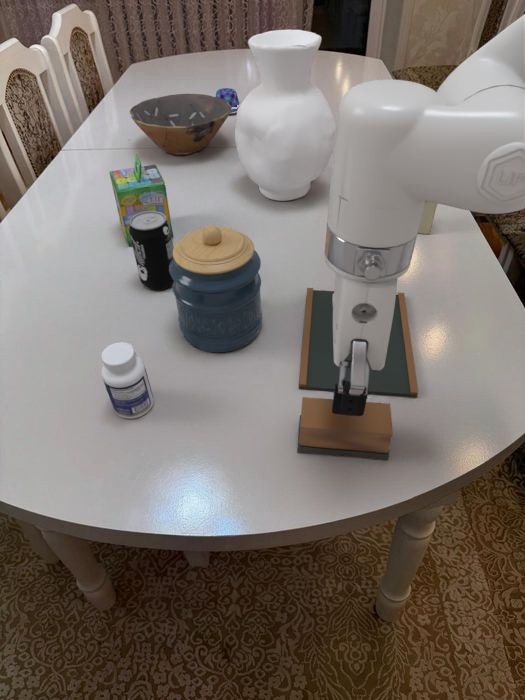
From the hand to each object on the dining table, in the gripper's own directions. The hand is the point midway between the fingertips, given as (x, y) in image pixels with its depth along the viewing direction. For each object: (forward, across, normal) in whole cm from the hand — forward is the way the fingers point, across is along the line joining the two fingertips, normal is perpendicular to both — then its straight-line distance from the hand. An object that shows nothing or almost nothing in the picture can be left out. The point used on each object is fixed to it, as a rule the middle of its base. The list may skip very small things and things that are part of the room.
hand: (347, 378), depth 55 cm
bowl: (+12, +89, +41) cm, 98 cm away
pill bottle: (+12, +3, +27) cm, 30 cm away
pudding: (+12, +119, +35) cm, 124 cm away
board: (+11, +19, -3) cm, 22 cm away
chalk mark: (+11, +27, -1) cm, 29 cm away
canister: (+12, +20, +18) cm, 29 cm away
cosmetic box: (+11, +53, -14) cm, 56 cm away
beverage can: (+12, +31, +31) cm, 46 cm away
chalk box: (+12, +47, +38) cm, 62 cm away
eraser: (+11, 0, -1) cm, 11 cm away
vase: (+12, +67, +12) cm, 69 cm away
